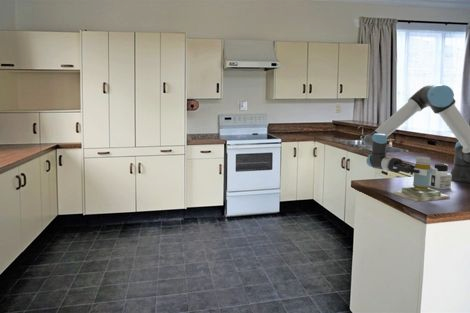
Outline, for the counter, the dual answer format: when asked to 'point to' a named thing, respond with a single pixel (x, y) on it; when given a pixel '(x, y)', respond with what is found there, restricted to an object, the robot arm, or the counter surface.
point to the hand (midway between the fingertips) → (431, 172)
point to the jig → (420, 194)
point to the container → (440, 177)
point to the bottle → (422, 180)
